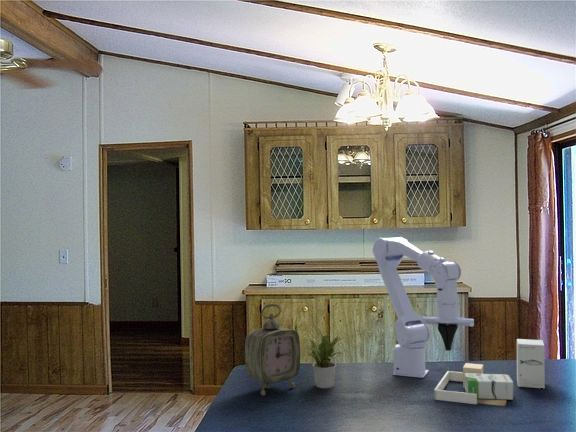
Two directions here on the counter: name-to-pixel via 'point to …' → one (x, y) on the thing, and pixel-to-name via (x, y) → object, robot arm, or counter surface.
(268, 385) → the tabletop clock
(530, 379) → the supplement box
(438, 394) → the tray
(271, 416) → the counter surface
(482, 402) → the cork mat
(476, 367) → the kraft carton
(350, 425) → the counter surface
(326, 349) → the house plant
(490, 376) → the ink box
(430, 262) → the robot arm
